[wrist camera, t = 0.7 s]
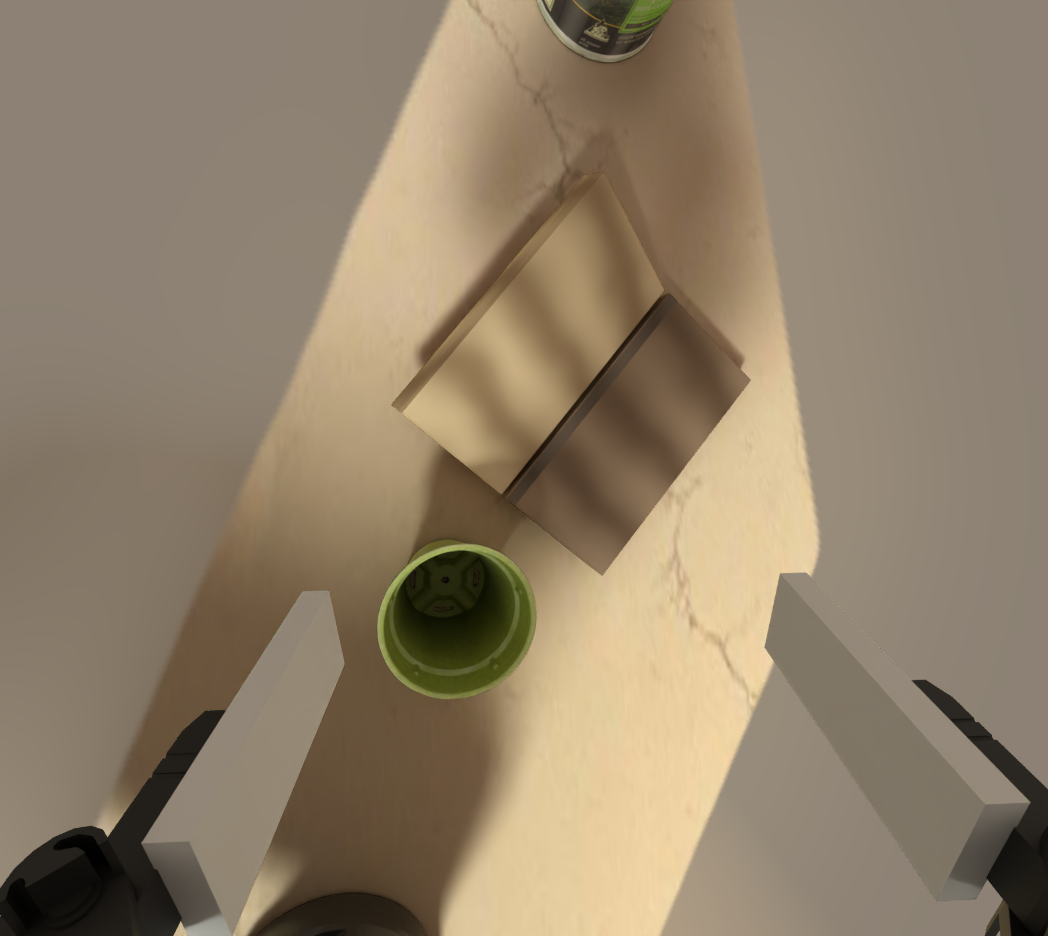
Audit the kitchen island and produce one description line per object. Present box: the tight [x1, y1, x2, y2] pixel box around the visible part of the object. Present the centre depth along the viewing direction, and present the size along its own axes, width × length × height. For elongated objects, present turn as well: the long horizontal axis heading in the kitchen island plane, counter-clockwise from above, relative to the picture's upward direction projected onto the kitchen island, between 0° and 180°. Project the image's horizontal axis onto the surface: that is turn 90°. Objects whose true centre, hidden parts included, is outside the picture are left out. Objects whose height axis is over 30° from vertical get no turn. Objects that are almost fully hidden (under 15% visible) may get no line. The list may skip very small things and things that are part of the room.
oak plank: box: [391, 172, 664, 495], centre depth 34 cm, size 20×10×2 cm, turn 140°
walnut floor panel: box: [502, 293, 751, 575], centre depth 39 cm, size 20×10×2 cm, turn 140°
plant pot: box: [377, 539, 536, 699], centre depth 33 cm, size 9×9×9 cm
